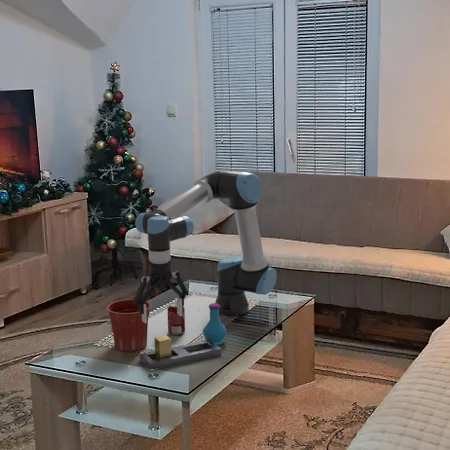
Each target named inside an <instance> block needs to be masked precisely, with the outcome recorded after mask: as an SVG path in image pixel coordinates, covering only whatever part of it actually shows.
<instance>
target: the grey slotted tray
mask: <svg viewBox="0 0 450 450" xmlns="http://www.w3.org/2000/svg"><path fill="white" fill-rule="evenodd" d="M171 355H173V356H172V357H169V358H164V359H159V360H154V359H155V350H153V351H149V352H145V353H144V352H143V353H140V354H139V360H140V361H139V362H140V363H142V364H143V365H144V366H145V365H146V366H147V367H148V368H149V369H150V370H151V369H155V370H157V369H156V368H160V369H163V368H164V367H165V368H168V367H169V368H170V367H173V366H178V365H182V364H186V363H191V362H195V361H197V362H198V361H200V360H205V359H209V358H213V357H214V358H215V357H219V356H222V348H221V347H220V346H218V345H215V344H214V343H213V342H211V341H210V340H206V339H205V340H202V341H201V340H200V341H197V342H192V343H189V344H183V345H182V344H181V345H179V346H173V347H172V346H171ZM146 366H145V367H146ZM147 367H146V368H147ZM148 368H147V369H148ZM165 368H164V369H165ZM149 369H148V370H149ZM150 370H149V371H150ZM151 371H152V370H151Z"/></svg>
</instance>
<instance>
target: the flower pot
mask: <svg viewBox="0 0 450 450" xmlns="http://www.w3.org/2000/svg"><path fill="white" fill-rule="evenodd" d="M133 301H134V298H129V299H121V300H115V301H113V302H111V303H109V304H108V305H107V306H106V310H107V311H108V317H109V319H110V322H111V323H110V324H111V331H112V337H113V343H114V348H115V349H116V350H118V351H121V352H125V353H126V352H127V353H128V352H129V353H130V352H136V351H137V350H140V351H141V350H143V349H144V348H146V347H147V345H148V331H149V330H148V327H149V325H148V324H149V316H150V308H151V306H152V304H151V303H150V302H149V301H146V302H145V305H146V314H147V323H144V322H143V321H142V314H140V312H139V305H136V304H135V303H134V302H133Z"/></svg>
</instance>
